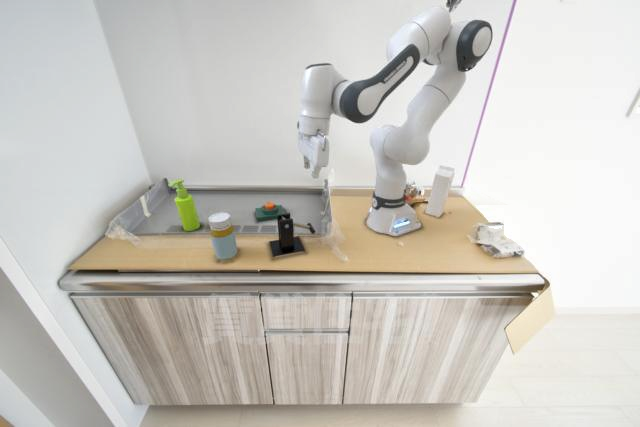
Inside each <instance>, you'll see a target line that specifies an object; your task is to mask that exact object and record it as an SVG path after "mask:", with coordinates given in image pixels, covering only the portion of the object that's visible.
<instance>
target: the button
mask: <svg viewBox="0 0 640 427" xmlns="http://www.w3.org/2000/svg"><path fill="white" fill-rule="evenodd" d="M274 204H275V203H274V202H266V203H264V205H265V209H266V210H271V209H274Z"/></svg>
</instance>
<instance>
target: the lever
mask: <svg viewBox="0 0 640 427" xmlns="http://www.w3.org/2000/svg"><path fill="white" fill-rule="evenodd" d="M290 218H291V217H290ZM290 218H286V217H281V220H285V219H290ZM293 227H296V228H301V229H305V230H309V232H310V233H311V235H313V234H315V233H316V229H315V228H314V226H313V225H312V223H311V222H308V223H307V224H303V223H300V222H296V221H293Z"/></svg>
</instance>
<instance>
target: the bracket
mask: <svg viewBox="0 0 640 427" xmlns="http://www.w3.org/2000/svg"><path fill="white" fill-rule="evenodd" d="M281 217H286V218H290V219H285V220H281ZM276 220H277V233H278V239H275V240H270V241H268V243H269V246H270V251H271V255H272V257H279V256H285V255H289V254H294V253H295V254H296V253H301V252H305V251H306V249H305V247H304V245H303V243H302V241H301V239H300V236H294V235H295V234H294V232H295V231H294V226H293V222H294V219H293V218H291V212H285V214H278V215H277V219H276Z"/></svg>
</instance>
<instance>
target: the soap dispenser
mask: <svg viewBox="0 0 640 427" xmlns="http://www.w3.org/2000/svg"><path fill="white" fill-rule="evenodd" d="M183 183H185V179H176V180H173V181H171V182H170V183H168V184H167V186H169V187H175V186H176V185H177V186H176V187H177V188H176V189H175V192H176V195H177V196H176V197H175V198H174V202H175V205H176V208H177V211H178V214H179V217H180V221H181V224H182V227H183V230H184V231H186V232H191V231H196V230H198V229H199V228H201V227H200V226H201V225H200V221H199V216H198V213H197V209H196V206H195V202H194V197H193V195H191V194H189V193H188V190H187V187H185V186H184V185H183Z"/></svg>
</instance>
